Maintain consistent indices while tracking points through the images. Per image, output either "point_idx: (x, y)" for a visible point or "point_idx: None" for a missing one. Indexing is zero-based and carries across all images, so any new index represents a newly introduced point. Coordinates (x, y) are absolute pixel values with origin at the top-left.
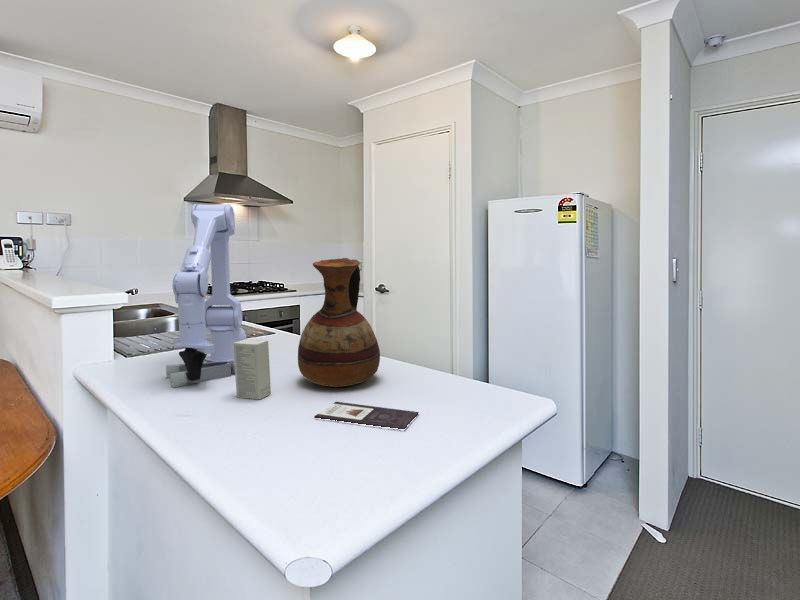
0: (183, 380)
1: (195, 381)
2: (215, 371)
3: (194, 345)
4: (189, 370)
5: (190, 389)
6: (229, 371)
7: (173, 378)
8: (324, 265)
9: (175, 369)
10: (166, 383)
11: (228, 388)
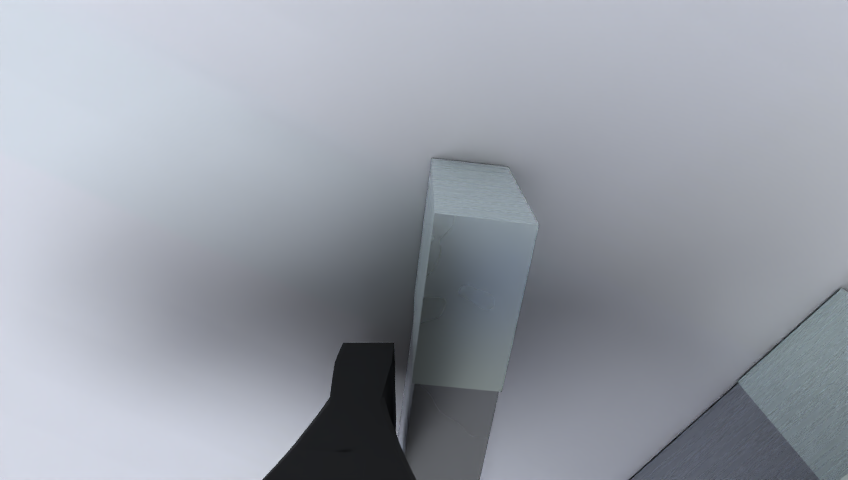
0: (418, 294)
1: (406, 383)
2: None
3: None
4: (317, 418)
5: (229, 241)
6: None
7: (433, 201)
8: None
9: (832, 420)
10: (668, 195)
11: (21, 450)
